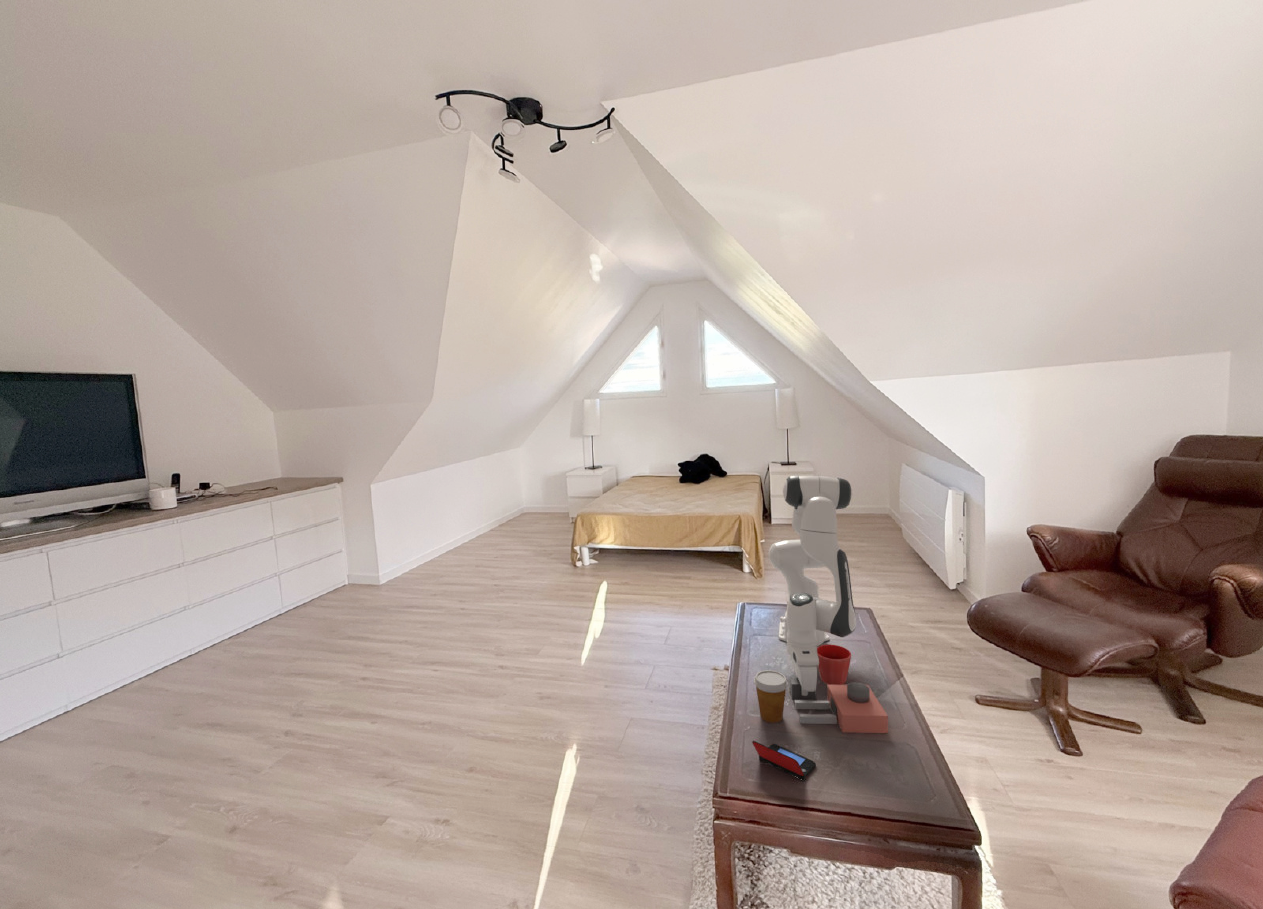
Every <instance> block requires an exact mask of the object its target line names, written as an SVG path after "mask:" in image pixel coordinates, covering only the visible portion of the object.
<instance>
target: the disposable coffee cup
mask: <svg viewBox="0 0 1263 909" xmlns="http://www.w3.org/2000/svg"><path fill="white" fill-rule="evenodd" d="M753 682H754V685H755V689H756V694H757V702H758V708H759V715H760V718H761V719H762V720H763V721H765V722H768V723H771V724H773V723H779V722H781V721H783V716H784V708H785V699H786V692H787V688H788V686H789V685H788V684H789V683H788V680H787V678H786V676H785V675H784V674H783V673H781V672H779V671H775V670H769V669H768V670H767V669H765V670H761V671H759V672H756V675H755V677H754V679H753Z"/></svg>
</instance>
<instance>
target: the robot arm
mask: <svg viewBox="0 0 1263 909" xmlns="http://www.w3.org/2000/svg"><path fill="white" fill-rule="evenodd" d="M782 494H783V499H784V501H785V502H786V503H787V505H789V506H791V507H793V512H792V519H791V527H792V530H793V531H794V532H795V534H797V535H799V539H787V540H785V539H784V540H781V541H777V542H774V543H772V544H771V545H770V547H769V549H768V559H769V562H770V564H771V566H772V567H773V568H774V569H776V570H777V571H779V572H780V573H781V575H783V577H784V579H785V582H786V585H787V586H786V587H787V594H788V596H787V597H788V599H787V600H788V601H787V604H786V612H784V616H780V621H779V627H778V628H779V629H778V640H780V641H783V642H786V652H787V653H788V655H789V657H790V658H789V659H790V661H791V664H792V667H793V669H794V671H795V675H796V678H798V680H799V682H800V684H801V694H802V695H803V696H807V695H808V692H814V691H815V692H816V689H817V681H818V665H819V658H818V654H817V647H819V646H821V645H823V644H824V642H826V641H829V640H830V636H829V635H828V634H831V635H834V636H837V637H839V638H845V637H848V636H849V635H852V633H854V632H855V630H856V625H857V615H856V610H855V606H854V601H853V592H852V582H851V574H850V567H849V561H848V556H847V554H846V552H845V551H844V550H842V549H841V547H840V545H839V542H838V536H837V535H838V533H837V532H838V517H837V510H844V509H846V508H847V507H848V506H849V505H850V502H851V500H852V498H853V490H852V486H851V484H850V482H849V481H848V480H847V479H844V478H840V477H837V478H836V477H831V476H825V475H798V474H797V475H796V474H795V475H790V476H788V477H787V478H786V479H785V482H784V484H783V487H782ZM825 567H826V568H827V569H828V570H829V571H830V572H831V574H832V575H833V576H832V577H833V580H834V582H833V583H834V584H833V585H834V592H835V601H831V600H828V599H823V598H820V597H819V595H820V594H819V589H820V588H819V585H818V583H817V581H816V580H815V579H813V578H811V577H810V576H807V575H805V574H804V570H806V569H818V568H819V569H820V568H821V569H822V568H825ZM827 633H828V634H827Z"/></svg>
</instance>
